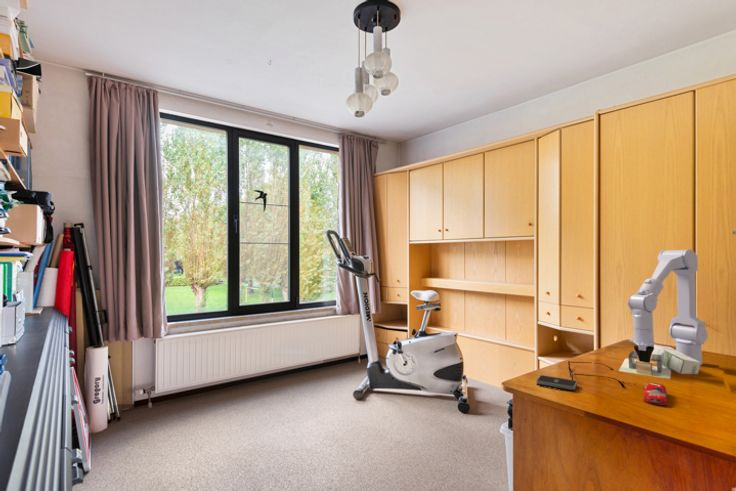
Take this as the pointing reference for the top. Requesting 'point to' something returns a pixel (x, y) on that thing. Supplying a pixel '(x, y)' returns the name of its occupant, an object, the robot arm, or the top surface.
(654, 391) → the race car
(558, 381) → the external hard drive
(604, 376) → the eyeglasses
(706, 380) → the top surface
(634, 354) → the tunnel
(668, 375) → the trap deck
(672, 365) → the syrup box
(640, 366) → the wooden block
